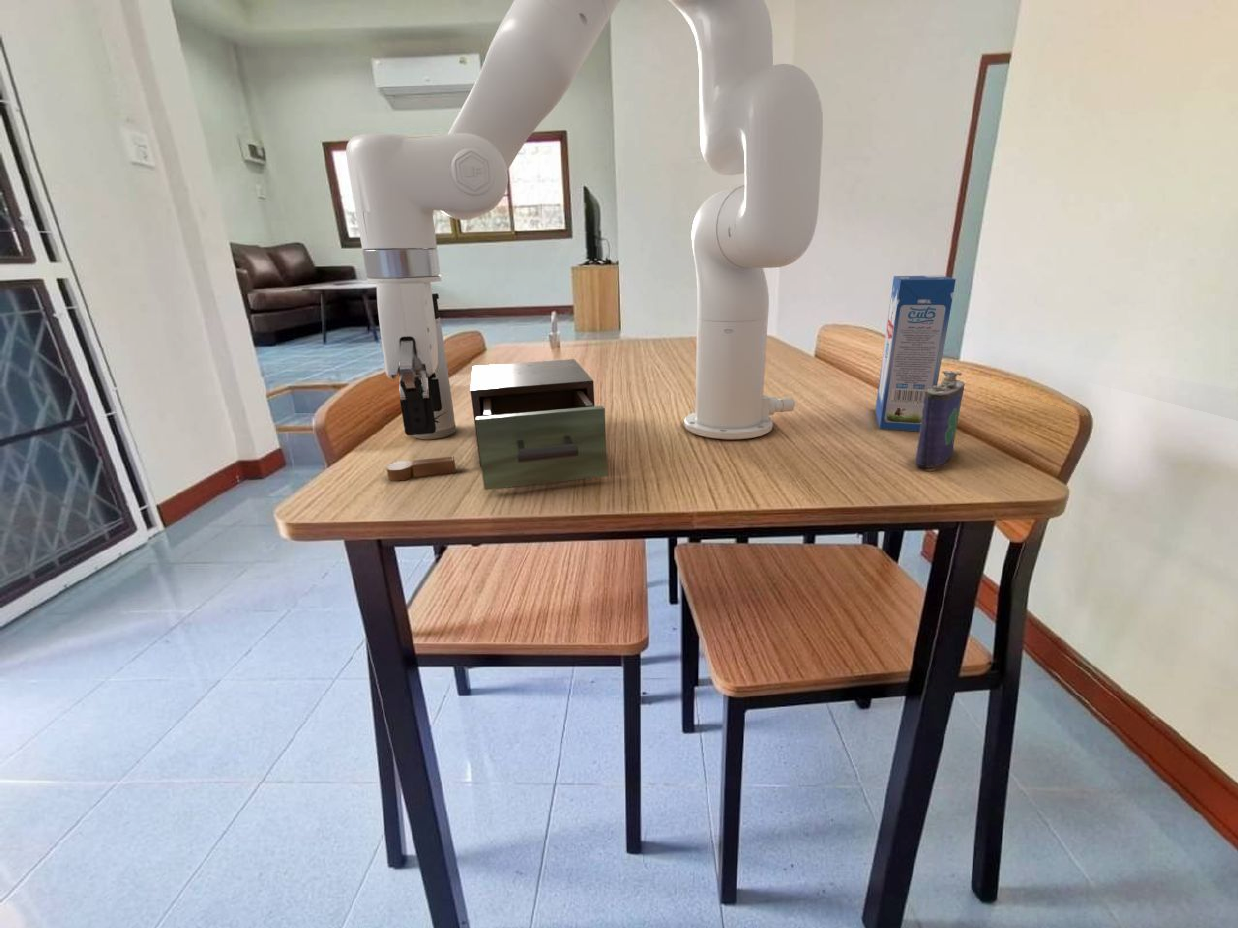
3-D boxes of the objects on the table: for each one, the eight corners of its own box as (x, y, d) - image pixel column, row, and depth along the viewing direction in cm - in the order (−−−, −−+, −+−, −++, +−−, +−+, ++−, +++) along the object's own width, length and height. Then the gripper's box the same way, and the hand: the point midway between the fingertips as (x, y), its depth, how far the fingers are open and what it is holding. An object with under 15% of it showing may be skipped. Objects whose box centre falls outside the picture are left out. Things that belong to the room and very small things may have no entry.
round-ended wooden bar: (455, 466, 70) (454, 454, 70) (454, 474, 67) (452, 462, 67) (390, 473, 69) (388, 461, 68) (386, 482, 66) (384, 469, 65)
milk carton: (875, 410, 88) (893, 276, 80) (919, 413, 86) (942, 275, 78) (879, 428, 79) (900, 279, 72) (929, 432, 77) (955, 279, 70)
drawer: (617, 492, 58) (614, 420, 56) (484, 509, 56) (474, 433, 53) (585, 437, 76) (582, 380, 74) (484, 447, 74) (476, 389, 71)
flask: (932, 447, 71) (947, 363, 67) (958, 451, 69) (975, 365, 65) (909, 468, 65) (924, 376, 61) (937, 473, 63) (955, 380, 59)
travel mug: (445, 440, 80) (424, 295, 73) (404, 439, 81) (378, 296, 74) (465, 427, 86) (447, 292, 79) (426, 426, 87) (404, 293, 80)
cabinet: (597, 455, 72) (593, 380, 69) (480, 467, 69) (470, 390, 66) (578, 422, 87) (574, 359, 83) (480, 431, 84) (472, 366, 80)
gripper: (379, 267, 67) (401, 406, 73) (347, 270, 51) (379, 447, 57) (444, 266, 69) (461, 402, 75) (432, 268, 53) (454, 441, 59)
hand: (425, 421), depth 66 cm, fingers open, 9 cm apart
